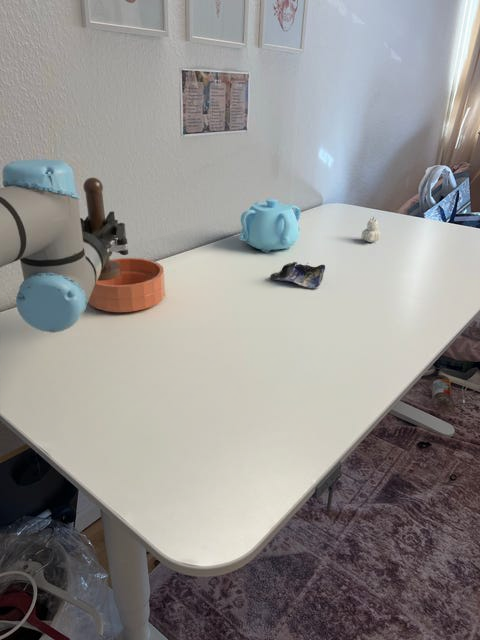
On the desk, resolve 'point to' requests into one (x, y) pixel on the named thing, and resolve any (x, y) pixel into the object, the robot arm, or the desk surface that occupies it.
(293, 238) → the decorative pot
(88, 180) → the muddler
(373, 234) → the cream small figurine
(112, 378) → the desk surface
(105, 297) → the bowl
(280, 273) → the snack package
